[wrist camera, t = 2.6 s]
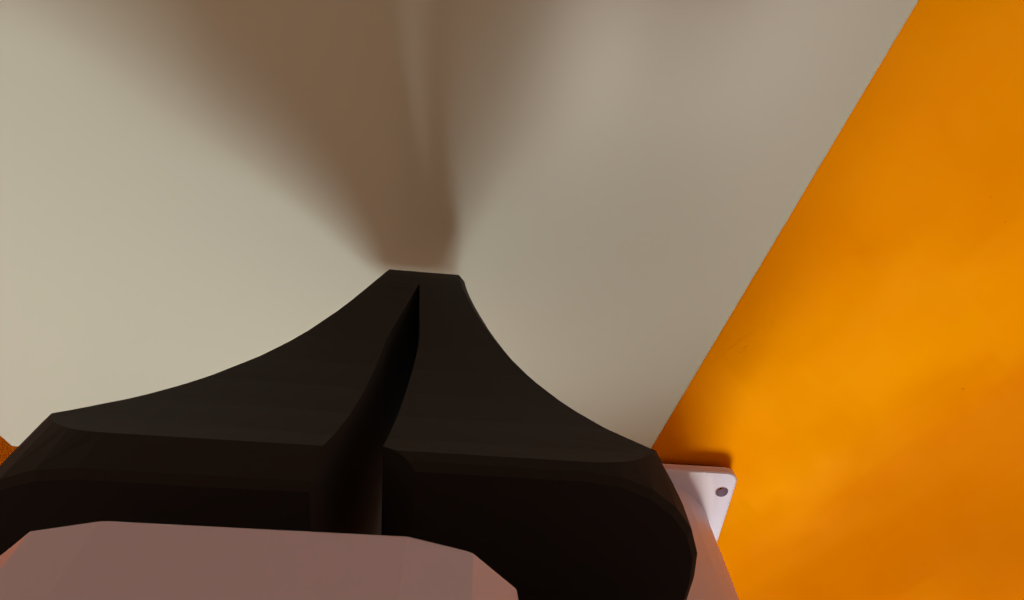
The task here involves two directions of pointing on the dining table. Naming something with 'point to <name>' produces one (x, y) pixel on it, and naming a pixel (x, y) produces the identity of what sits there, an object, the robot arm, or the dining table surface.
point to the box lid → (404, 179)
